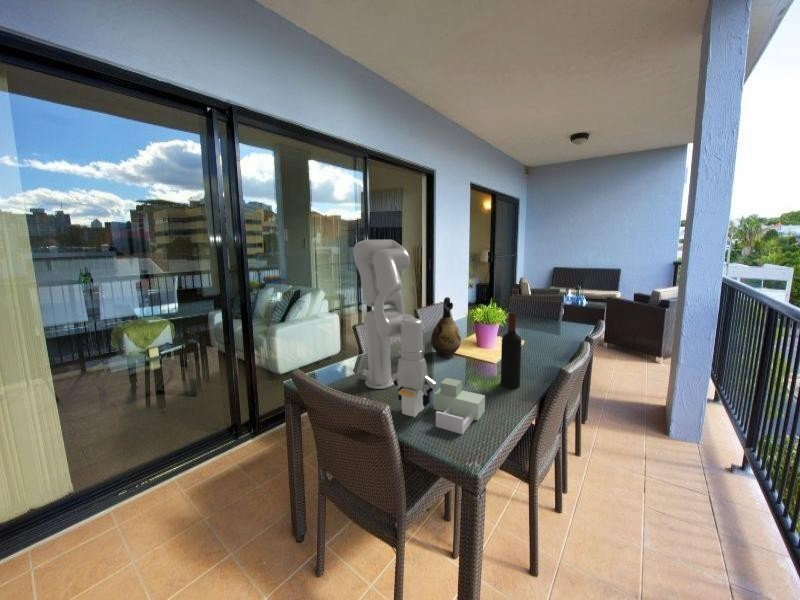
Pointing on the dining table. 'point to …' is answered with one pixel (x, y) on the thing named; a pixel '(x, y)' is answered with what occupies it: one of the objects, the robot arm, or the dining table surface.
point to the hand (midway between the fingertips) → (413, 401)
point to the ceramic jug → (446, 333)
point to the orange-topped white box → (411, 401)
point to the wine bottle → (511, 356)
